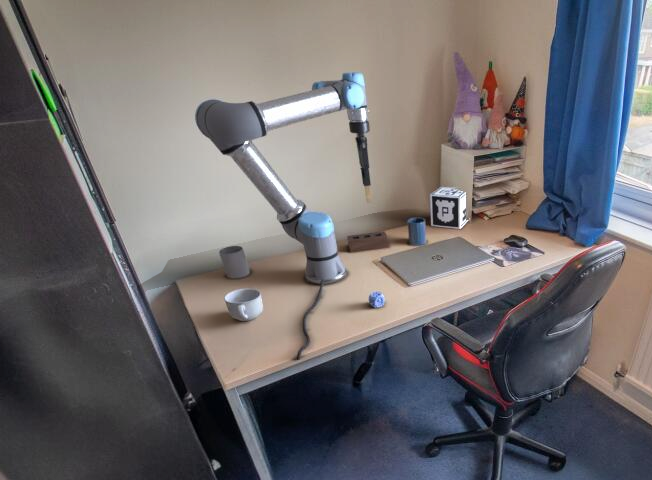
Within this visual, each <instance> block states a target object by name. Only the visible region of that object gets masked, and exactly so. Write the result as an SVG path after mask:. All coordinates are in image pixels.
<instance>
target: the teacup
mask: <svg viewBox="0 0 652 480" xmlns="http://www.w3.org/2000/svg"><path fill="white" fill-rule="evenodd" d="M223 299H224V302H225V304H226V308H227V311H228V314H229V315H230V316H231V317H232V318H233V319H235V320H238V321H241V322H248V321H249V322H250V321H253V320H255V319H256V318H258V317H259V316H260V315H262V312H263V310H264V305H263V299H262V293H261V291H260V290H259V289H256V288H239V289H235V290H232V291H230V292H228V293H226V294H225V295H224V297H223Z"/></svg>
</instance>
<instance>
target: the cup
mask: <svg viewBox="0 0 652 480" xmlns="http://www.w3.org/2000/svg"><path fill="white" fill-rule="evenodd" d="M218 253H219V256H220V259H221V262H222V265H223V268H224V272H225V274H226V277H227V278H228V279H242V278H244V277H247V276H248V275H249V274H250V273H251V270H250V267H249V264H248V260H247V258H246V254H245V251H244V249H243V247H242V246H241V245H230V246H226V247H223V248H221V249H220V250H219V251H218Z"/></svg>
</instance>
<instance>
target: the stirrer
mask: <svg viewBox="0 0 652 480" xmlns="http://www.w3.org/2000/svg"><path fill="white" fill-rule="evenodd" d="M364 192H365V200H366V203H367V204H368V203H372V195H371V187H370V186H364Z"/></svg>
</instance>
